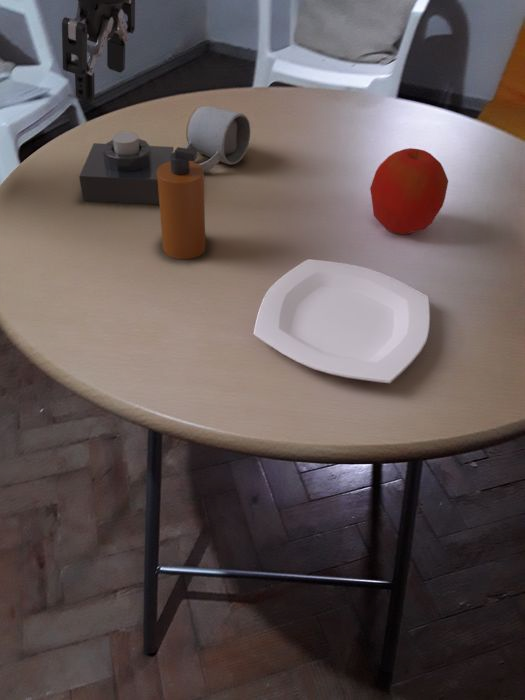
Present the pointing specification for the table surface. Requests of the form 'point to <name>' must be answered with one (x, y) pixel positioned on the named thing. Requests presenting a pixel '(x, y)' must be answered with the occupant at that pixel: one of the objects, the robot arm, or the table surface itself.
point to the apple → (408, 191)
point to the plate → (345, 320)
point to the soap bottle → (182, 205)
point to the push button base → (123, 174)
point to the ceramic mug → (218, 135)
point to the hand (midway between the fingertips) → (101, 84)
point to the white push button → (126, 143)
